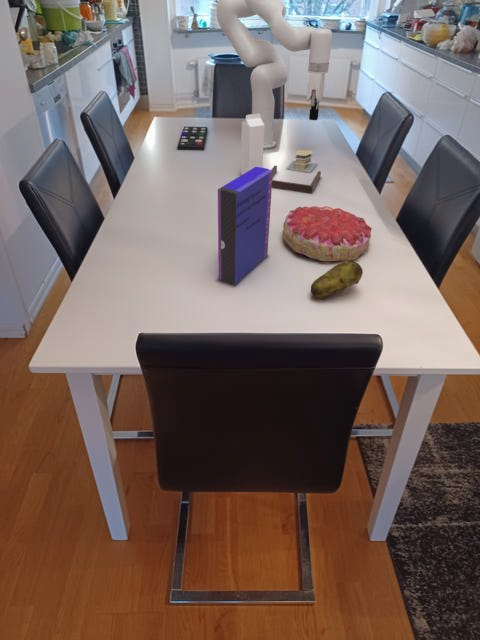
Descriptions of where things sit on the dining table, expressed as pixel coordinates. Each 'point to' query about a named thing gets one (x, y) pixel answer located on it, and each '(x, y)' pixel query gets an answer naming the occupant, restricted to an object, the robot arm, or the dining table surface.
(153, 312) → the dining table surface
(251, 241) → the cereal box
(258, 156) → the milk
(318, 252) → the cake
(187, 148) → the remote control
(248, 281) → the dining table surface
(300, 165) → the stacked layers on plate
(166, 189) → the dining table surface
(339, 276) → the green pickle
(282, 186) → the sponge rest
